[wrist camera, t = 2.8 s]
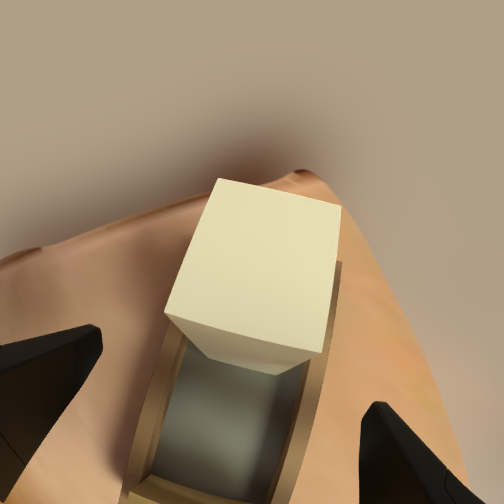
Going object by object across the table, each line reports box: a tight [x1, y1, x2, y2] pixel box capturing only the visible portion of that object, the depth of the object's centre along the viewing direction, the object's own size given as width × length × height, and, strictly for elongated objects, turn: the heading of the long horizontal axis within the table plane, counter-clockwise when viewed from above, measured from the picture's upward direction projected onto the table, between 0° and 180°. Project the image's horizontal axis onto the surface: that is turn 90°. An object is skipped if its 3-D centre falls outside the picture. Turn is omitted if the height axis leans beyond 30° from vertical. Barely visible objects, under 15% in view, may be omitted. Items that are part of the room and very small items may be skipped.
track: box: [118, 261, 342, 504], centre depth 15 cm, size 20×10×5 cm, turn 166°
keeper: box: [164, 178, 341, 375], centre depth 13 cm, size 5×4×11 cm
